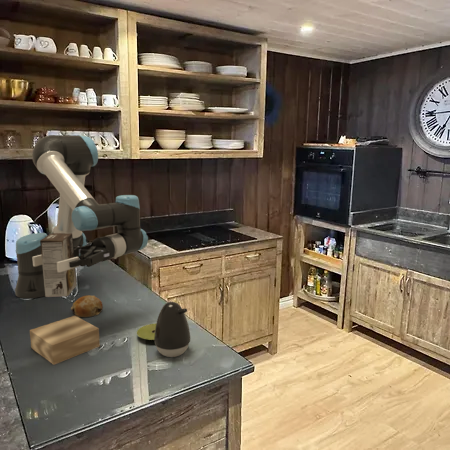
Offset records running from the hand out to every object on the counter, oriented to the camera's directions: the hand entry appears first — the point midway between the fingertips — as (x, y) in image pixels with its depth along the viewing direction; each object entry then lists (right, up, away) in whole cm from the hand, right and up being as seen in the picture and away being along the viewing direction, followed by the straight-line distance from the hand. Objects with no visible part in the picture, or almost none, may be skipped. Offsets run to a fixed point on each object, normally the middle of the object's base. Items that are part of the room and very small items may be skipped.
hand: (45, 264), depth 112 cm
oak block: (+2, -26, +9) cm, 27 cm away
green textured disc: (+28, -24, +15) cm, 40 cm away
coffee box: (+2, -8, +5) cm, 10 cm away
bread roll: (0, -21, +34) cm, 40 cm away
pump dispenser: (+34, -26, +5) cm, 43 cm away
